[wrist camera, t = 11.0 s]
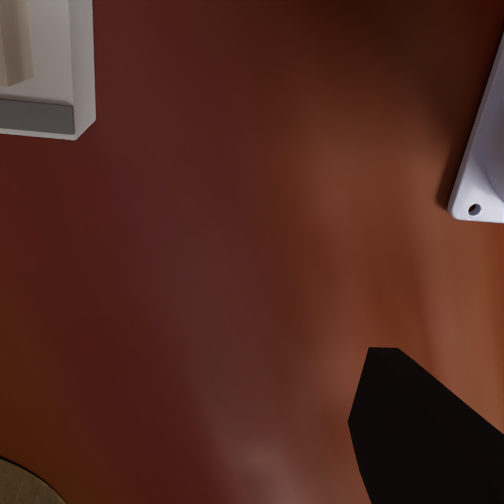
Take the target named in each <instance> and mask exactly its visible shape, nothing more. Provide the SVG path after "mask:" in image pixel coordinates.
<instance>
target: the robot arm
mask: <svg viewBox="0 0 504 504" xmlns="http://www.w3.org/2000/svg"><path fill="white" fill-rule="evenodd" d="M473 204H476V207H475V209H474V210H473V211H471V212H468V209H469V208H470V206H472V205H473ZM447 210H448V213H449V214H450V215H451V216H452V217H453V218H455V219H458V220H468V221H481V222H494V223H504V33H503V37H502V40H501V43H500V46H499V49H498V52H497V55H496V58H495V61H494V64H493V67H492V70H491V73H490V77H489V80H488V83H487V86H486V89H485V92H484V95H483V98H482V101H481V104H480V107H479V110H478V113H477V117H476V120H475V123H474V126H473V129H472V132H471V135H470V138H469V141H468V144H467V147H466V150H465V153H464V157H463V160H462V163H461V166H460V169H459V172H458V175H457V178H456V181H455V184H454V187H453V190H452V193H451V197H450V200H449V203H448V207H447ZM348 426H349V430H350V434H351V439H352V443H353V447H354V451H355V455H356V459H357V463H358V467H359V471H360V474H361V476H362V479H363V482H364V485H365V487H366V490H367V493H368V495H369V498H370V501H371V503H372V504H504V434H503V433H501V432H500V431H499V430H497V429H496V428H495V427H494V426H492V425H491V424H490V423H489V422H487V421H486V420H485V419H484V418H483V417H481V416H480V415H479V414H478V413H476V412H475V411H474V410H473V409H472V408H470V407H469V406H468V405H467V404H466V403H464V402H463V401H462V400H461V399H460V398H458V397H457V396H456V395H455V394H454V393H452V392H451V391H450V390H449V389H448V388H446V387H445V386H444V385H443V384H442V383H440V382H439V381H438V380H437V379H436V378H434V377H433V376H432V375H431V374H430V373H429V372H427V371H426V370H425V369H424V368H422V367H421V366H420V365H419V364H418V363H416V362H415V361H414V360H413V359H411V358H410V357H409V356H408V355H406V354H405V353H404V352H402V351H401V350H400V349H398V348H380V347H369V349H368V352H367V356H366V359H365V363H364V366H363V370H362V374H361V377H360V381H359V384H358V388H357V391H356V395H355V398H354V402H353V405H352V409H351V412H350V416H349V419H348Z"/></svg>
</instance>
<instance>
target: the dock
mask: <svg viewBox="0 0 504 504" xmlns="http://www.w3.org/2000/svg"><path fill="white" fill-rule="evenodd" d="M28 9H29V21H30V33H31V45H32V57H33V69H34V77H33V78H30V79H28V80H25V81H22V82H20V83H17V84H14V85H12V86H9V87H4V86H0V133H3V134H14V135H24V136H35V137H46V138H57V139H68V140H76V139H77V138H78V137H79V136H80V135H81V134H82V133H83V132H84V131H85V130H86V129H87V128H88V127H89V126H90V125H91V124H92V123H93V122H94V121H95V120H96V112H95V79H94V46H93V13H92V0H28Z"/></svg>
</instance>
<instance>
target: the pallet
mask: <svg viewBox="0 0 504 504" xmlns="http://www.w3.org/2000/svg"><path fill="white" fill-rule="evenodd" d="M33 77H34V69H33V57H32V45H31V33H30V21H29V9H28V0H0V86H4V87H9V86H12V85H14V84H17V83H20V82H22V81H25V80H28V79H30V78H33Z"/></svg>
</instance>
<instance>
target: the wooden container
mask: <svg viewBox="0 0 504 504" xmlns="http://www.w3.org/2000/svg"><path fill="white" fill-rule="evenodd" d="M0 504H66V503H65V502H64V501H63V500H62V498H61V497H60V496H59V495H58V494H57V493H56V492H55V491H54V490H53V489H52V488H51V487H49V486H48V485H47V484H46V483H44V482H43V481H42V480H40V479H39V478H37V477H36V476H34V475H33V474H31V473H29V472H28V471H26V470H24V469H22V468H20V467H18V466H16V465H14V464H12V463H9V462H7V461H5V460H2V459H0Z"/></svg>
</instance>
